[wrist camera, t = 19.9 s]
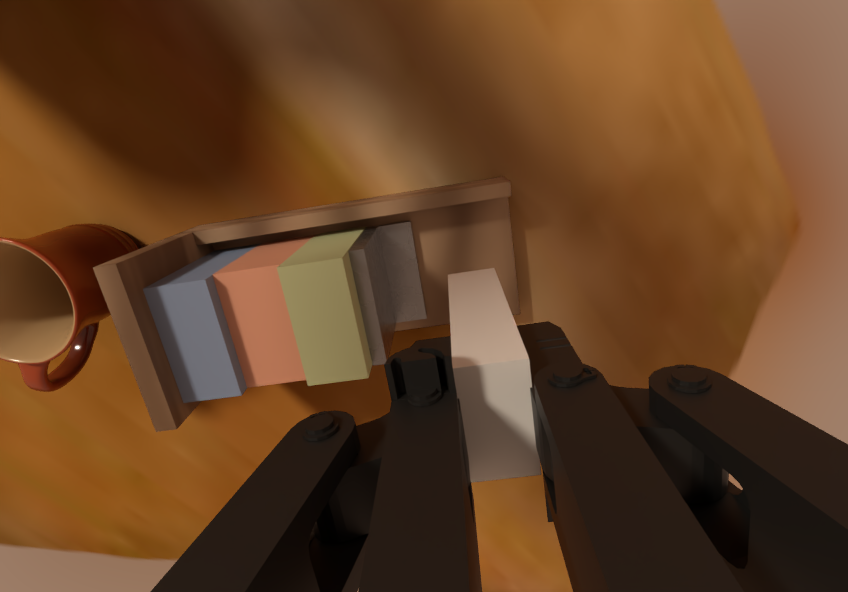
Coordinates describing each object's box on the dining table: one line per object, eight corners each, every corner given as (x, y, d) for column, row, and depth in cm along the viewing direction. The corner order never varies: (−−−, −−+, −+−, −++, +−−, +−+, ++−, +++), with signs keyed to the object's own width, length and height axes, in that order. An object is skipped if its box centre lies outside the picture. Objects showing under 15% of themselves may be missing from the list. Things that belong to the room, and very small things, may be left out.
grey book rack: (236, 346, 44) (156, 431, 31) (198, 225, 40) (92, 267, 28) (517, 307, 42) (549, 382, 29) (503, 176, 38) (533, 198, 26)
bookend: (385, 321, 41) (372, 365, 33) (366, 227, 38) (348, 251, 31) (426, 315, 41) (423, 358, 33) (410, 220, 38) (403, 243, 30)
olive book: (338, 327, 41) (308, 386, 32) (316, 233, 39) (276, 267, 29) (385, 321, 41) (368, 378, 31) (366, 226, 38) (342, 257, 29)
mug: (52, 205, 40) (-72, 229, 31) (158, 218, 40) (69, 246, 31) (68, 338, 44) (-37, 398, 34) (165, 350, 44) (88, 413, 34)
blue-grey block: (241, 341, 42) (183, 403, 32) (214, 250, 39) (142, 288, 30) (287, 335, 42) (241, 396, 32) (262, 243, 39) (205, 279, 30)
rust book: (287, 335, 42) (247, 388, 33) (261, 242, 39) (212, 274, 31) (338, 328, 41) (312, 379, 33) (316, 234, 39) (282, 264, 30)
